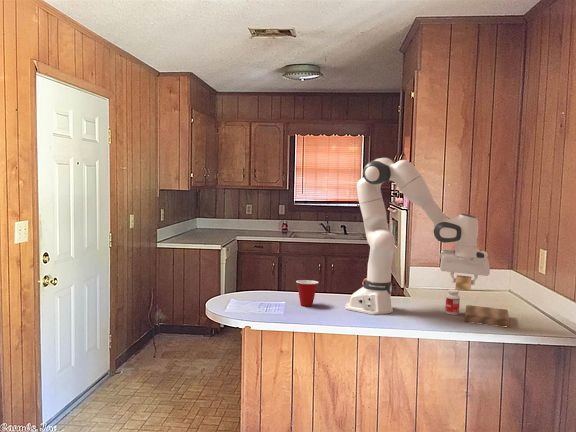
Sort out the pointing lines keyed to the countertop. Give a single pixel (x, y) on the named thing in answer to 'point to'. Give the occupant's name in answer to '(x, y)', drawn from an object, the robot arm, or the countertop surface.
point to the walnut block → (487, 315)
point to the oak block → (463, 282)
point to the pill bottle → (452, 302)
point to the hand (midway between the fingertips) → (463, 283)
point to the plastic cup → (306, 292)
